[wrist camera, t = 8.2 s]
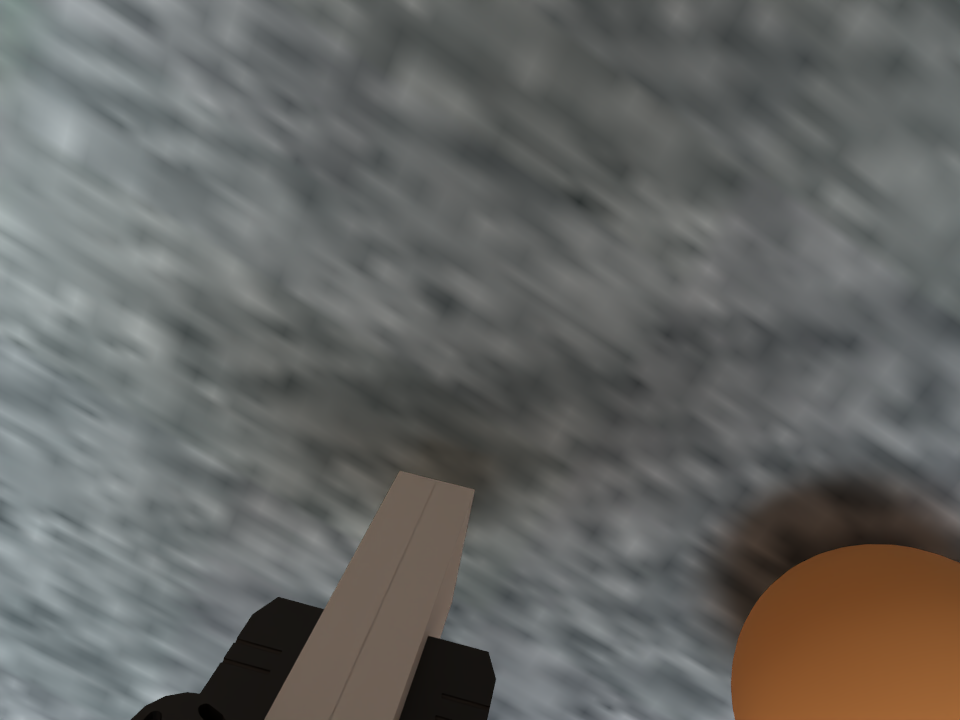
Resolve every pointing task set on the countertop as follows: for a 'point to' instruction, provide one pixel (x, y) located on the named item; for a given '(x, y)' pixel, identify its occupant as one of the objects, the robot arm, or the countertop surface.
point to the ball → (854, 639)
